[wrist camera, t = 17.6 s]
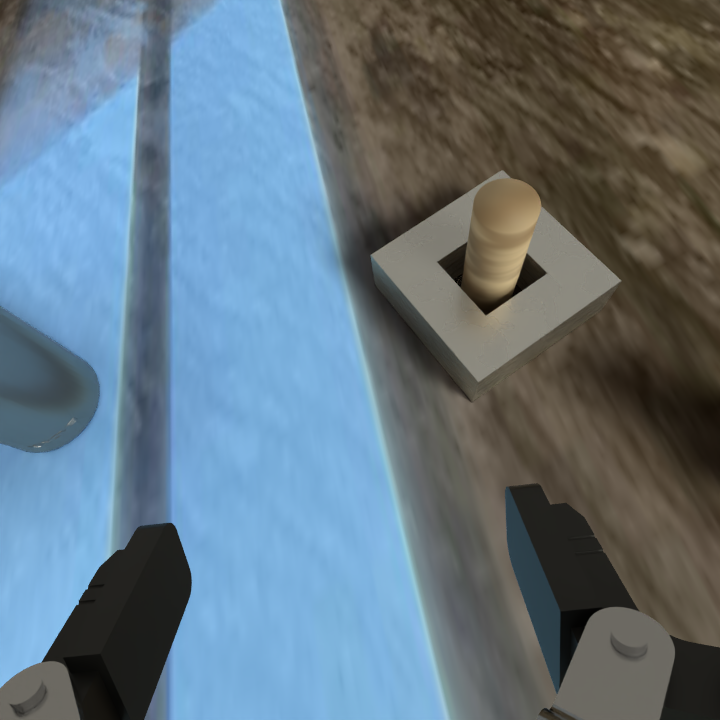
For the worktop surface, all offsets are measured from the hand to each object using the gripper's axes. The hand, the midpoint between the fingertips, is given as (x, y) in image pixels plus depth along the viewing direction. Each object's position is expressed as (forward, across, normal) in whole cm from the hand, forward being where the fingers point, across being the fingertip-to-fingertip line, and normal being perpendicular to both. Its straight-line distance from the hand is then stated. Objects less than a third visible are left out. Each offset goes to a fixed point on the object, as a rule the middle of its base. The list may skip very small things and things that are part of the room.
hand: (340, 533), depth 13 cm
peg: (+36, -11, +6) cm, 38 cm away
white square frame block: (+36, -11, +6) cm, 38 cm away
